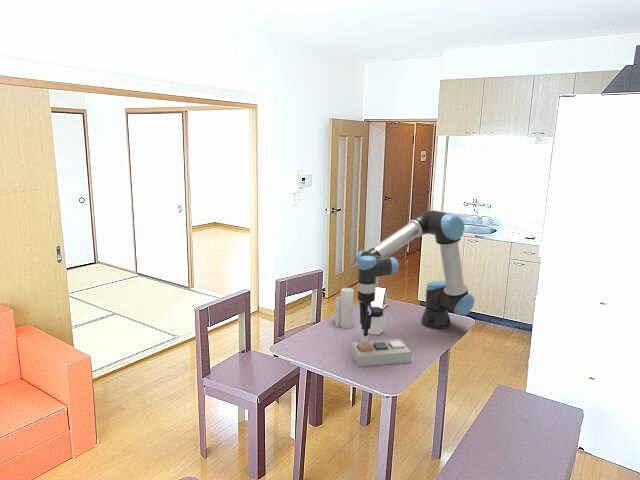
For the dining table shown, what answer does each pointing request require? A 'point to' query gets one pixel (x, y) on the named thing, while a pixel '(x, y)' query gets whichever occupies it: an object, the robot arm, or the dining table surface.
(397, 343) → the ivory key
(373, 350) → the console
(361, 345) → the terracotta key
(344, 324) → the grey stepped double column
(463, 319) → the dining table surface
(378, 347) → the charcoal key
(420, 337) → the dining table surface
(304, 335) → the dining table surface
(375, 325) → the jar
